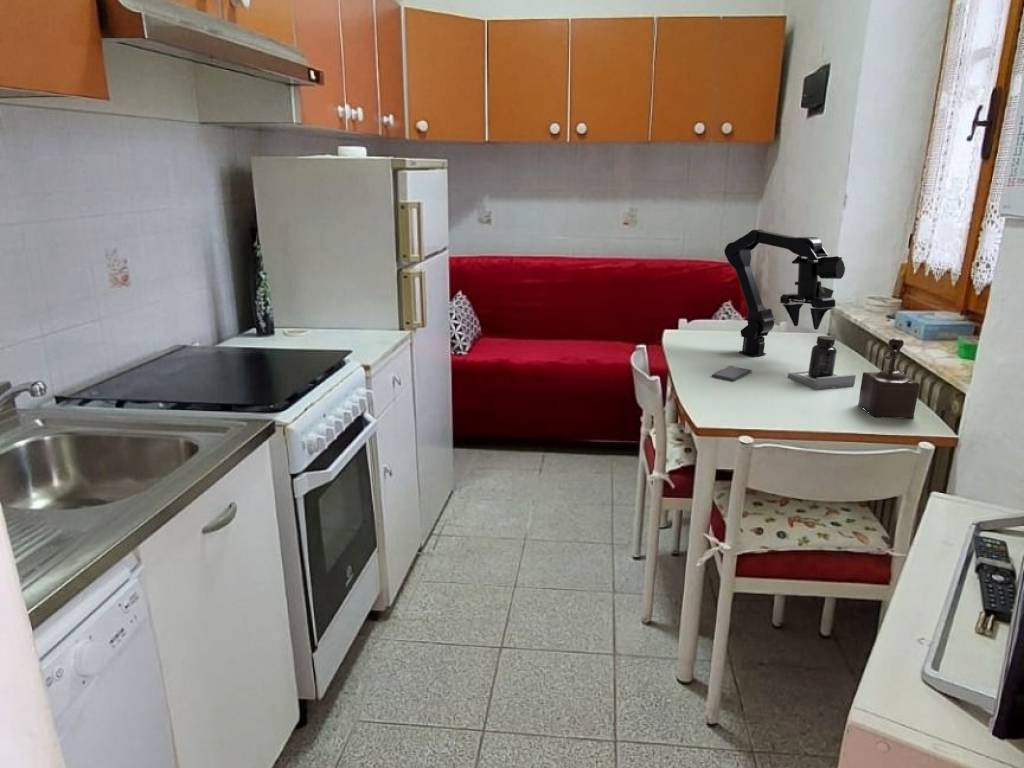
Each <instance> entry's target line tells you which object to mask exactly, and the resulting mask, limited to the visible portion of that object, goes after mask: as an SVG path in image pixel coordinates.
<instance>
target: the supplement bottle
mask: <svg viewBox="0 0 1024 768" xmlns="http://www.w3.org/2000/svg"><path fill="white" fill-rule="evenodd" d="M835 342H836V338H835V337H832V336H827V335H820V336H817V338H816V342H815V343H816V344H815V345H813V347H812V348H811V352H810V353H811V354H810V359H809V366H808V371H809V372H808V375H809V376H810V377H812V378H815V379H816V378H819V377H829V376H833V374H835V366H836V359H837V353H838V351H837V348H836V347H835V344H836V343H835Z"/></svg>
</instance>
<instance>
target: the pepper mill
mask: <svg viewBox="0 0 1024 768" xmlns="http://www.w3.org/2000/svg"><path fill="white" fill-rule="evenodd" d="M887 343H888V344H887V345H888V346H889V347H890V352H889V354H888V355H883V356H882V359H884V360H889V361H891V362H890V367H889V369H888V368H887V369H883V370H880V371H879V372H877V371H876V372H873V371H872V372H871V371H869V372H867V371H866V372H865V371H864V372H863V373H862V376H861V382H860V383H861V384H860V390H859V396H858V397H859V398H858V406H859V405H860V406H861V407H862V408H864V409H865V410H866V411H867V412H869V413H870V414H871V416H872V415H873V416H876V417H875V418H882V417H906V418H905V419H914V418H915V411H916V406H917V400H918V397H919V396H918V395H919V392H920V391H919V390H920V383H919V382H917V381H915V380H914V379H913V377H911V376H910V375H908V374H906V373H907V370H906V369H905V370H903V371H900V370H898V369H896V368H895V367H896V366H895V365H896V360H898V356H901V349H902V348H903V346H904V340H903V339H902V338H899V337H898V338H897V337H893V338H890V339H889V340H888V342H887ZM860 406H859V407H860ZM861 407H860V408H861ZM862 408H861V409H862ZM865 410H864V411H865ZM866 411H865V412H866ZM867 412H866V413H867ZM869 413H868V414H869ZM870 414H869V415H870ZM873 416H872V417H873Z"/></svg>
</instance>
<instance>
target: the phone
mask: <svg viewBox="0 0 1024 768" xmlns="http://www.w3.org/2000/svg"><path fill="white" fill-rule="evenodd" d="M752 371H753V370H752V369H747V368H743V367H738V366H733V365H729V366H727V367H725V368H722V369H721V370H718V371H717V372H714V373H712V374H711V377H712V378H714V377H715V378H714V379H719V378H721V379H720V380H725V381H728V380H729V382H735V381H738V380H740V379H741V378H744V377H745V376H748V375H749V374H752Z"/></svg>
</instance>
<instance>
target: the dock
mask: <svg viewBox="0 0 1024 768" xmlns="http://www.w3.org/2000/svg"><path fill="white" fill-rule="evenodd" d="M808 372H809V370H808V371H797V372H787V373H788V374H787V377H788V378H790V379H792V380H794V381H796V382H799V383H802V384H804V385H807V386H808V385H809V387H811V388H812V389H813V388H814V389H816V390H826V389H825V388H828V389H833V388H832V387H838V388H842V387H841V386H847V387H851V386H850V385H854V386H855V381H856V377H857V375H856V374H852V373H851V374H843V375H842V374H841V375H837V374H836V373H833V376H829V377H819V378H816V379H815V378H812V377H810V376H809V375H808Z"/></svg>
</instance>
